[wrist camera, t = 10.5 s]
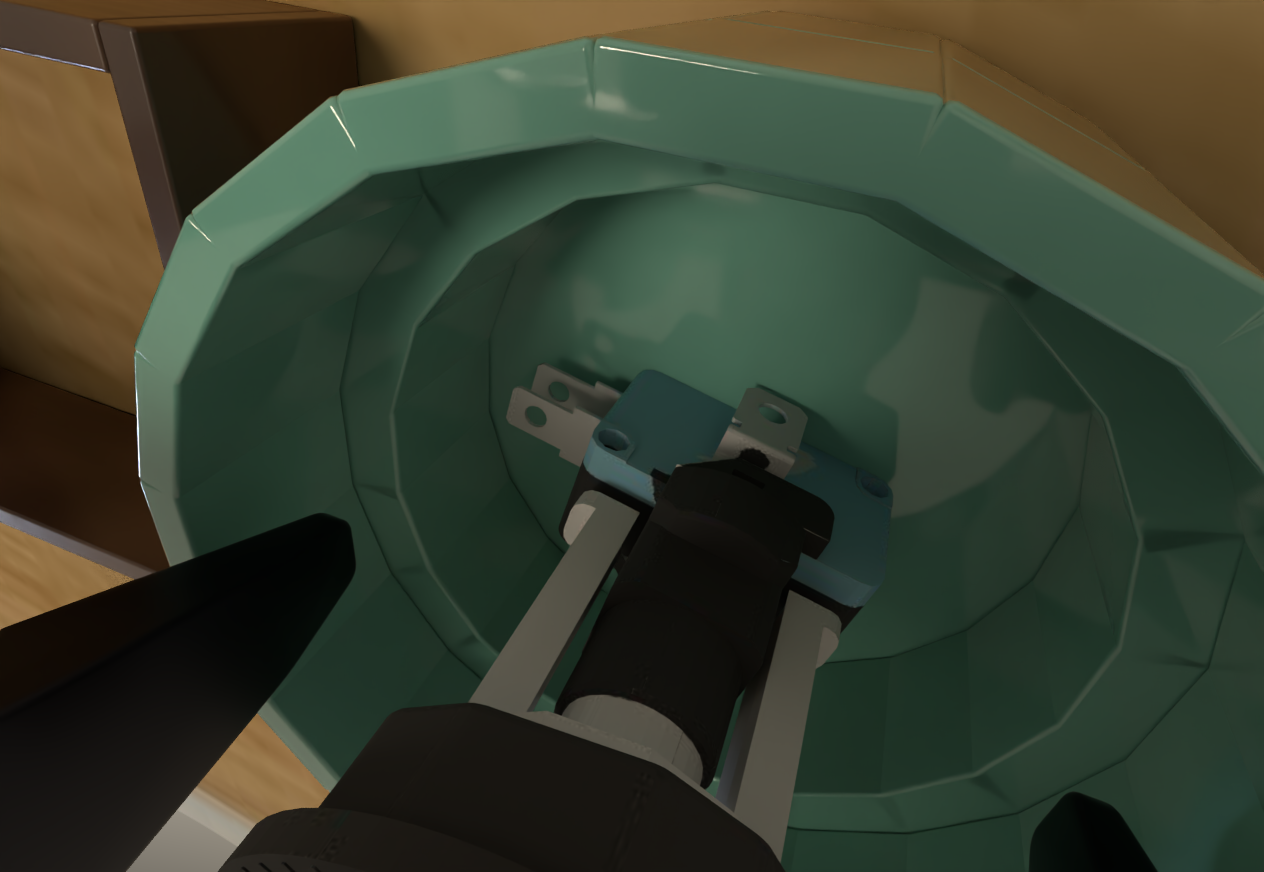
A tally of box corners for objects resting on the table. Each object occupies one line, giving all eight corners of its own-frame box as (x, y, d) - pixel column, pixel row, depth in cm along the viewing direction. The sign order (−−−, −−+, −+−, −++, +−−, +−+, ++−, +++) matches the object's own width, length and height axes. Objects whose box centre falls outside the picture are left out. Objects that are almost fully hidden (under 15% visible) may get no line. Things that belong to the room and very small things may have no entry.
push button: (520, 465, 15) (24, 1031, 7) (588, 228, 11) (-202, 775, 4) (815, 618, 14) (653, 1449, 6) (977, 411, 11) (1081, 1603, 3)
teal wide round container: (448, 572, 18) (253, 806, 13) (419, -48, 11) (-65, -80, 6) (986, 775, 15) (1012, 1180, 10) (1467, 114, 8) (2526, 369, 3)
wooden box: (-11, 377, 21) (-180, 447, 18) (-226, -90, 15) (-546, -111, 12) (401, 528, 18) (285, 645, 15) (353, 16, 12) (131, 27, 8)
